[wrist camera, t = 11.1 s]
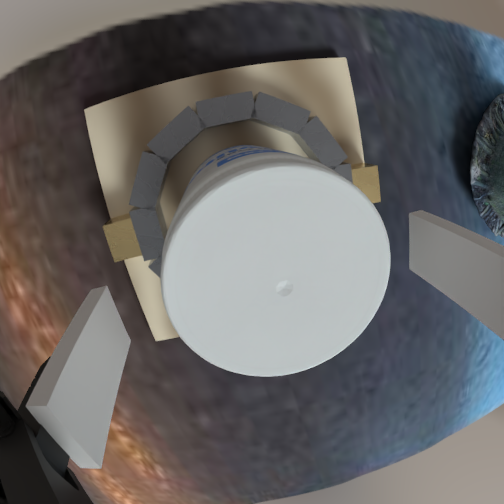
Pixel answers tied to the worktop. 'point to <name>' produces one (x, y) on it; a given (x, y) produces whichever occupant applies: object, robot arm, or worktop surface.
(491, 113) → the tree stump
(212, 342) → the supplement tub
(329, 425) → the worktop surface
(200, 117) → the ring
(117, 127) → the base plate
